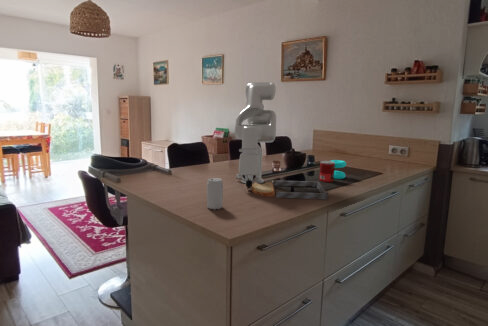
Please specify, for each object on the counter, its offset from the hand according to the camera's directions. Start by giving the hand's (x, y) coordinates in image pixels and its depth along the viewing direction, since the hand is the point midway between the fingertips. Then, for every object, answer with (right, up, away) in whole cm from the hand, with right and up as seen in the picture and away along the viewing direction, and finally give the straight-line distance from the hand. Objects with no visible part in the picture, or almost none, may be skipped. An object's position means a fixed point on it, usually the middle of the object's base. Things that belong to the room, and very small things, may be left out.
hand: (248, 187), depth 163 cm
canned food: (+45, +2, +24) cm, 50 cm away
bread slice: (+8, -2, 0) cm, 8 cm away
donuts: (+53, +4, +33) cm, 63 cm away
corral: (+24, -2, -1) cm, 24 cm away
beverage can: (-14, -6, -29) cm, 33 cm away
